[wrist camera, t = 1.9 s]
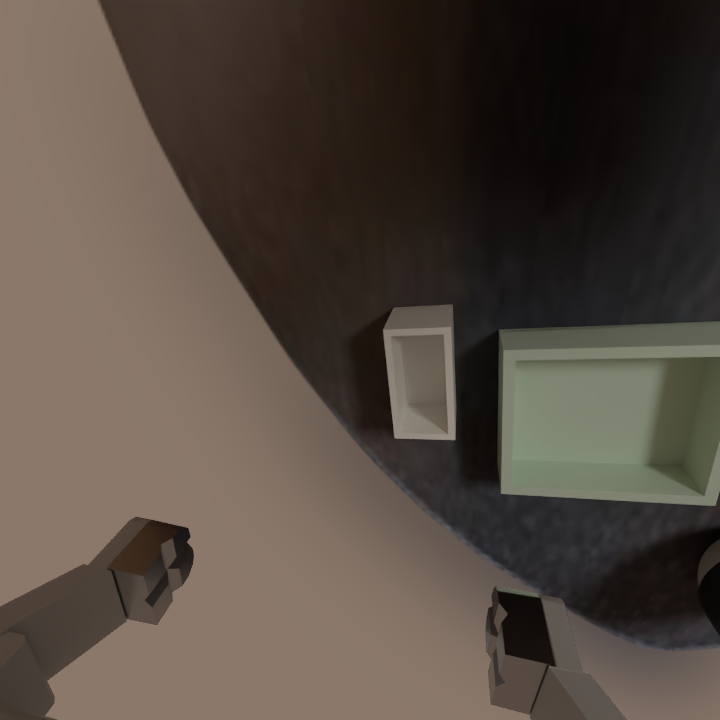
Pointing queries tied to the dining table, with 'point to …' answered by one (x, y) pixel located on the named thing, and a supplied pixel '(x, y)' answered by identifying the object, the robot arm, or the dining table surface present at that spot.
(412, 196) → the dining table surface
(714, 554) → the pump dispenser
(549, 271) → the dining table surface
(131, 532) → the robot arm
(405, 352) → the small tote
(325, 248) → the dining table surface
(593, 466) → the box
